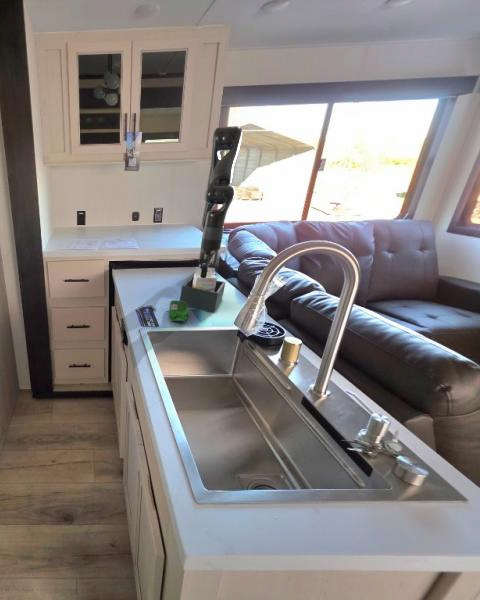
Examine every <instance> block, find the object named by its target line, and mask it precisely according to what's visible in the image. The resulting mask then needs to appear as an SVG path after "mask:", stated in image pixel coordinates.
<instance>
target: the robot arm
mask: <svg viewBox="0 0 480 600" xmlns="http://www.w3.org/2000/svg"><path fill="white" fill-rule="evenodd" d="M242 137H243V129H242V127H241V126H238V125H237V126H236V125H233V126H230V125H229V126H218V127H216V128H215V129H214V132H213V135H212V142H211V143H212V144H211V158H210V167H209V172H208V178H207V179H208V180H207V187H206V190H205V192H204V201H205V204H204V210H203V215H202V219H201V228H202V230H203V231H202V236H201V242H200V250H199V257H198V264H197V267H200V268H201V269H202V270H201V276H200V277H201V278H206V275H207V272H208V268H215V269H216V268H218V267H217V263H218V258H219V251H220V249H221V247H222V241H223V235H224V226H225V222H226V216H227V213H228V210H229V208H230V206H231V204H232V202H233V200H234V198H235V195H236V190H235V187H234V186H233V185H231V183H232V179H233V173H234V168H235V167H234V166H235V163H236V160H237V157H238V154H239V151H240V146H241V144H242ZM220 152H226V154H224V155H223V156H222V157H221V153H220ZM216 205H221V207H220V208H217V209H213V208H214V207H215V206H216ZM212 209H213V210H212ZM215 273H216V270H215V271H214V275H215Z"/></svg>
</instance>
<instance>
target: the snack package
mask: <svg viewBox="0 0 480 600" xmlns="http://www.w3.org/2000/svg"><path fill="white" fill-rule="evenodd" d="M168 313H169V314H168V317H169V320H170V321H172V322H188V321H189V307H188V305H187V302H185V301H180V300H171V301H170V303H169V311H168Z"/></svg>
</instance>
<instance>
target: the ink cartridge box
mask: <svg viewBox="0 0 480 600" xmlns="http://www.w3.org/2000/svg"><path fill="white" fill-rule="evenodd" d="M201 270H202V269H201V268H200V267H198V266H196V267H195V271H194V274H193V276H194V279H193V285H192V288H197V289H202V290H207V291H212V292H214V291H215V286H216V281H218V277H217V276H216V275H215V274H214V271H215V272H216V268H208V272H207V275H206V278H201V277H200V276H201Z"/></svg>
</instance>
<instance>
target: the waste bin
mask: <svg viewBox="0 0 480 600" xmlns="http://www.w3.org/2000/svg"><path fill="white" fill-rule="evenodd" d="M193 279H194V275H191V276H190V277H189V278H188V279H187V280H186V281H185V282H184V283H183V284H182V285H181V288H180V289H181V290H180V297H179V301H185V302H187V305H188V308H192V309H197V310H201V311H204V312H208V313H212V314H213V313H215V312H216V311H217V309H218V308H219V306H220V304H221V302H222V301H223V297H224V291H225V286H226V281H224V280H217V281H216V286H215V291H214V292H212V291H207V290H202V289H197V288H192V285H193Z"/></svg>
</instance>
